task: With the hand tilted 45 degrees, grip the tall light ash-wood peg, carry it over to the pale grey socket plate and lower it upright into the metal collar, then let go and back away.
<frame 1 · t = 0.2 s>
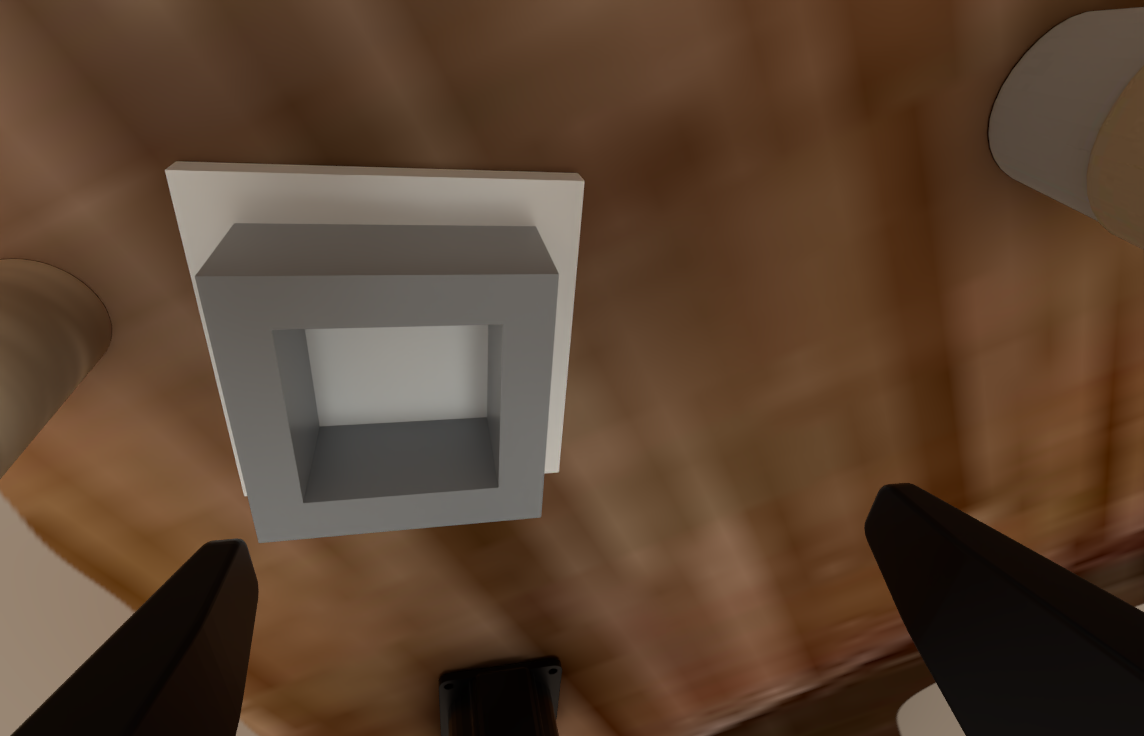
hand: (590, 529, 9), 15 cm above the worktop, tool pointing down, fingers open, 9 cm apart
peg: (37, 319, 20), on the worktop
coffee cup: (1053, 103, 24), on the worktop
socket: (401, 337, 23), on the worktop
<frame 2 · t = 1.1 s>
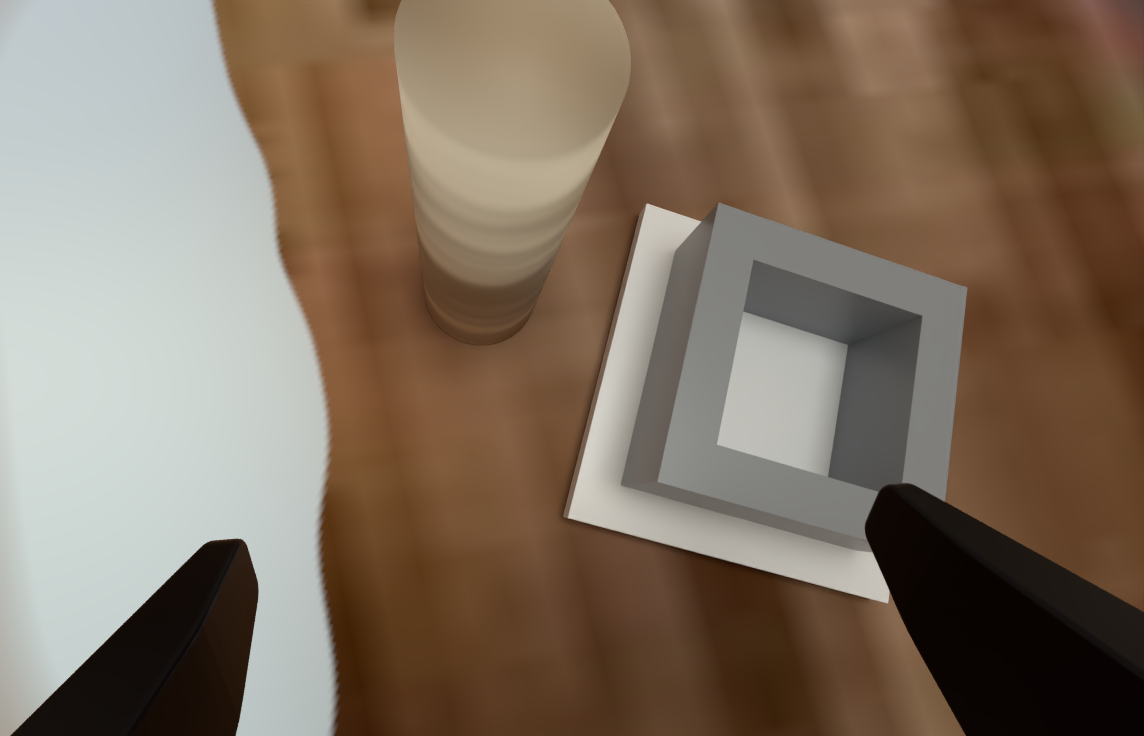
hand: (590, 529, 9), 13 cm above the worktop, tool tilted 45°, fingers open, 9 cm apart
peg: (480, 292, 23), on the worktop
socket: (751, 401, 24), on the worktop
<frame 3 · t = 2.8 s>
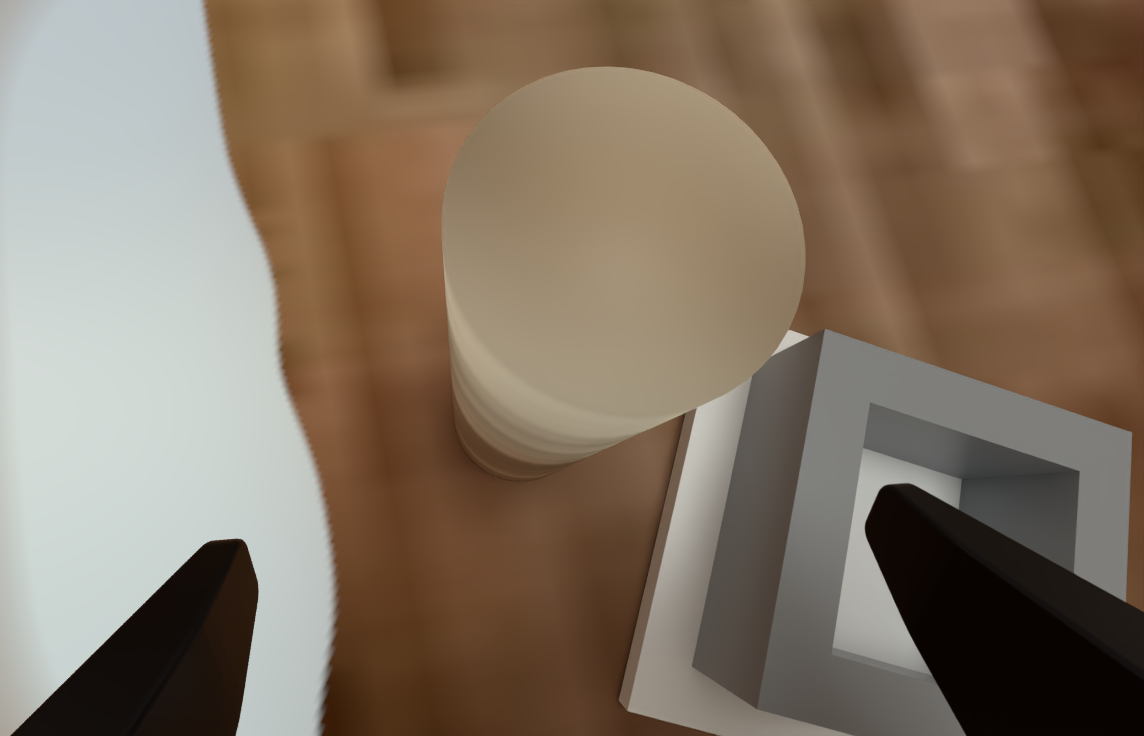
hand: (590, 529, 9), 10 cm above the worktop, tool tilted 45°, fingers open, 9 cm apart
peg: (520, 414, 19), on the worktop
socket: (843, 546, 20), on the worktop
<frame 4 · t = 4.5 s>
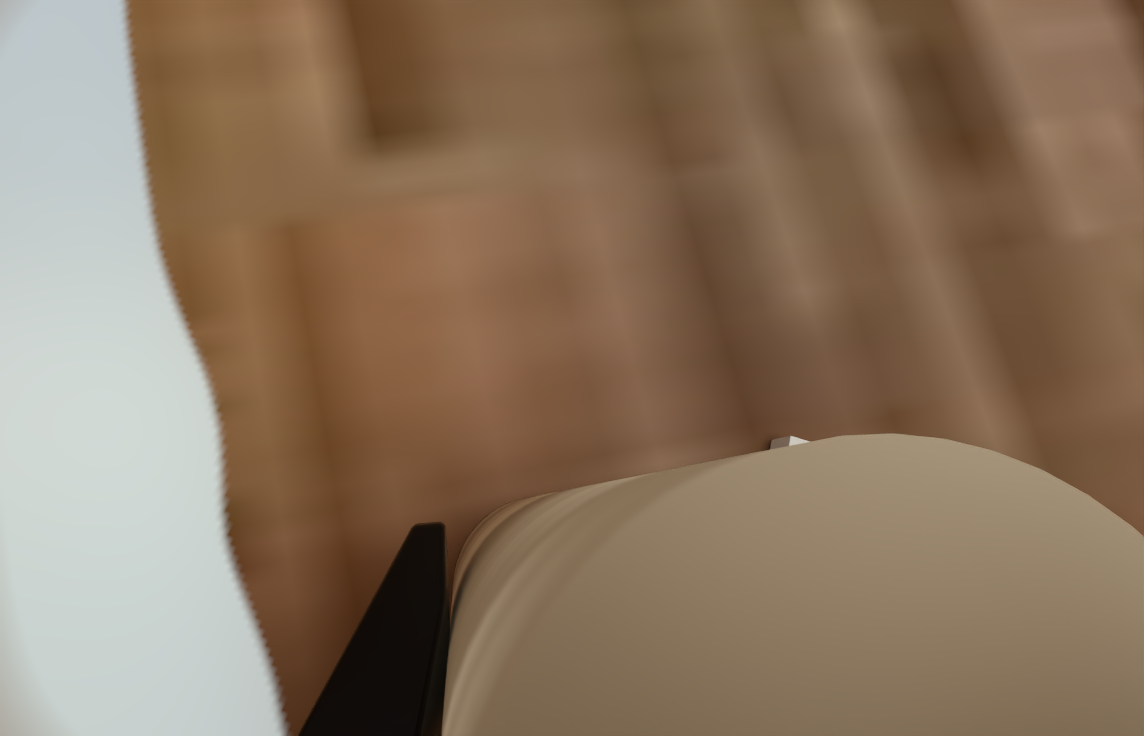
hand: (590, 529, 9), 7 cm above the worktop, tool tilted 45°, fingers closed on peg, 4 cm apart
peg: (539, 583, 15), on the worktop, touching gripper
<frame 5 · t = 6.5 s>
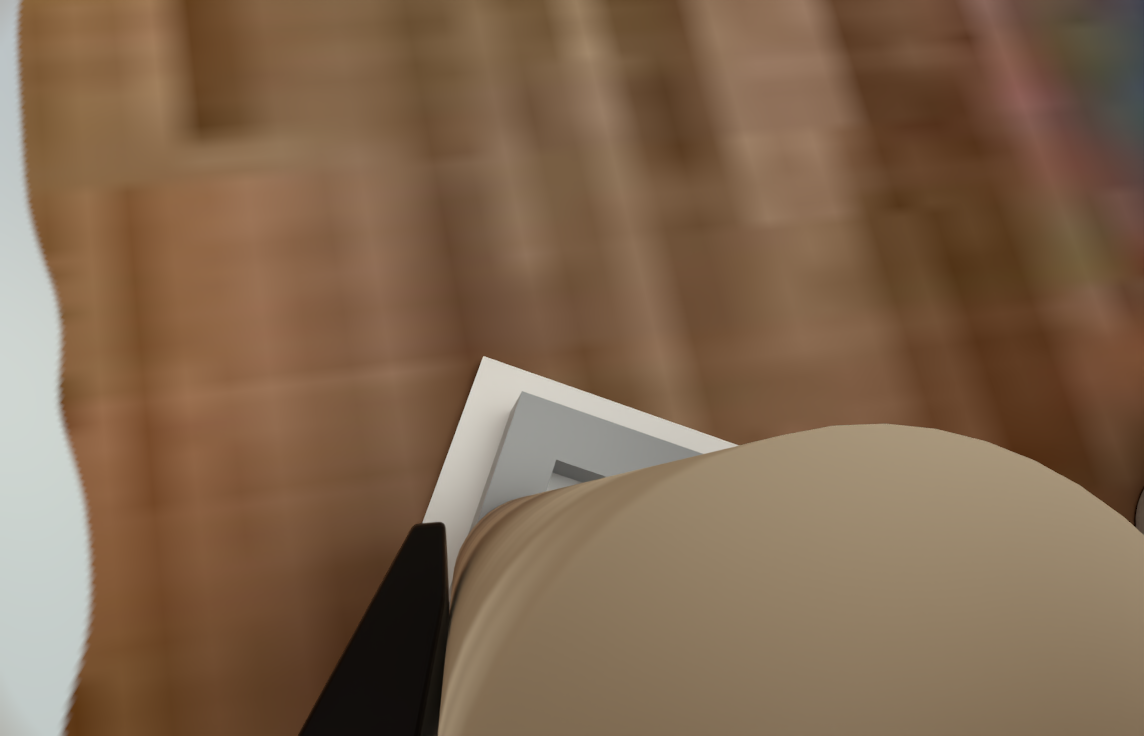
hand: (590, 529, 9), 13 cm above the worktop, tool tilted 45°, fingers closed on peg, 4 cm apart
peg: (538, 581, 15), point 7 cm above the worktop, touching gripper
socket: (590, 580, 22), on the worktop
when the fingers open (8 cm above the worktop, at t = 8.8 s): peg stays where it is, resting on socket.
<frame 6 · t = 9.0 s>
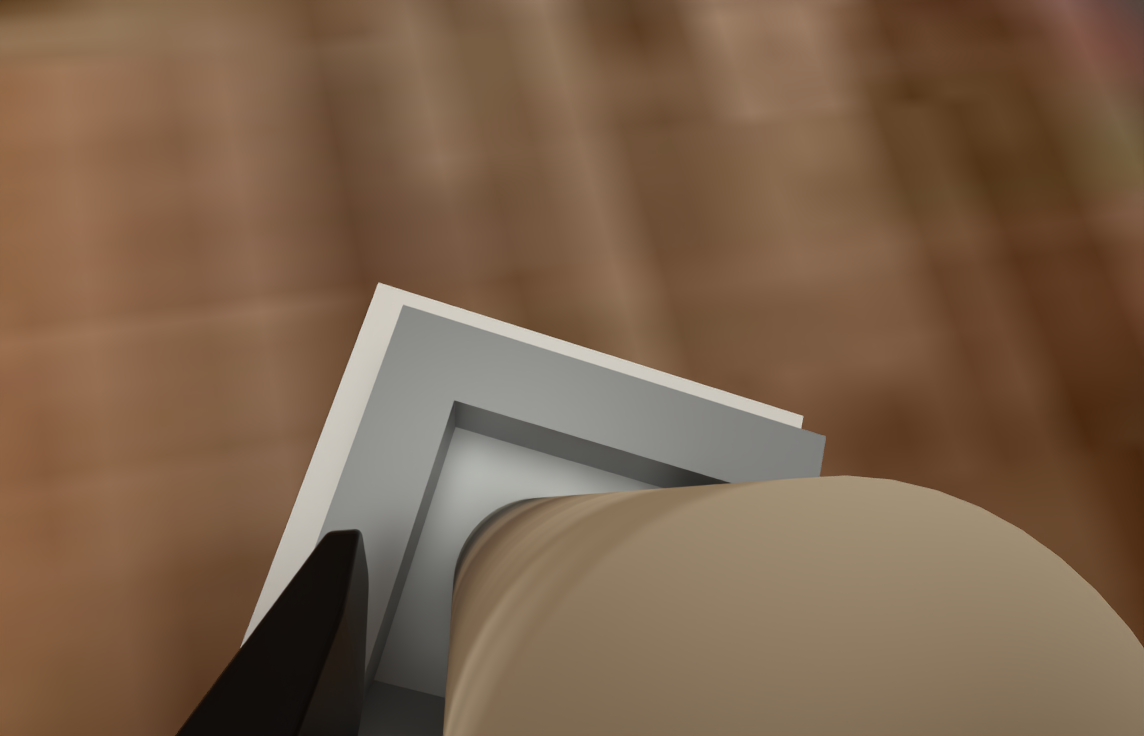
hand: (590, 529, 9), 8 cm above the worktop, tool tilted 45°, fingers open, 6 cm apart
peg: (536, 582, 15), point 1 cm above the worktop, touching socket
socket: (532, 575, 16), on the worktop
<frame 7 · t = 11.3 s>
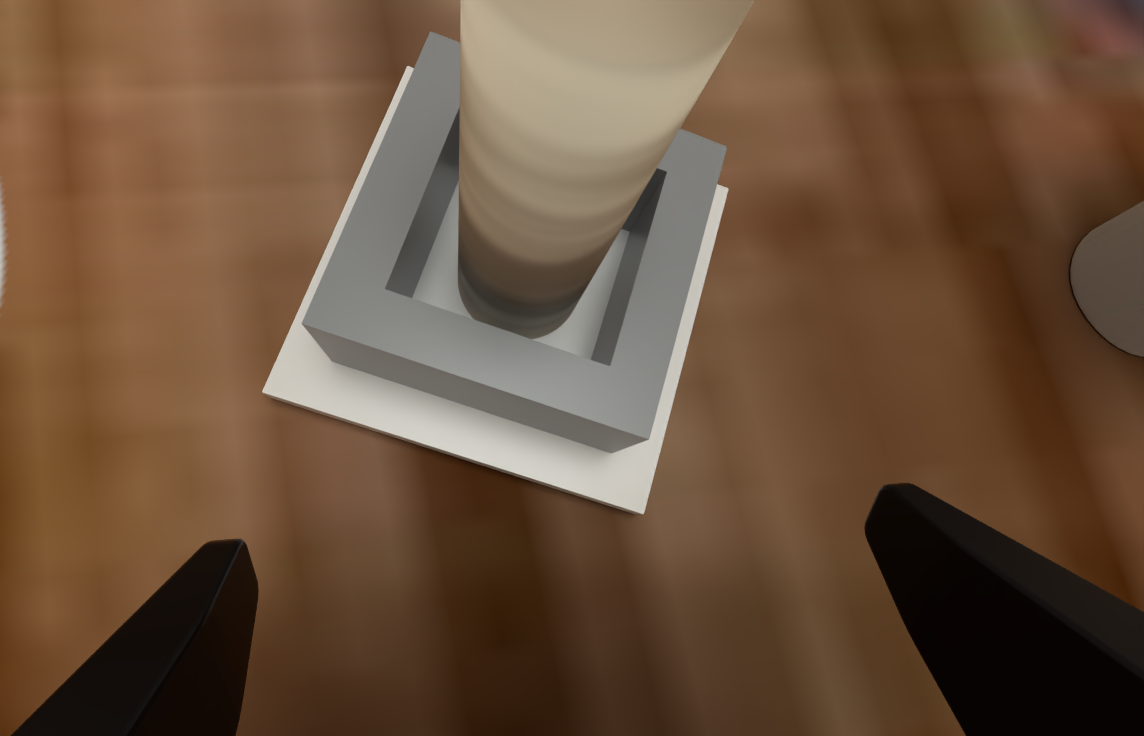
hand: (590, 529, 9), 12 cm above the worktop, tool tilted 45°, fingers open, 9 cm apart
peg: (519, 281, 21), point 1 cm above the worktop, touching socket
coffee cup: (1123, 291, 27), on the worktop
socket: (517, 289, 22), on the worktop
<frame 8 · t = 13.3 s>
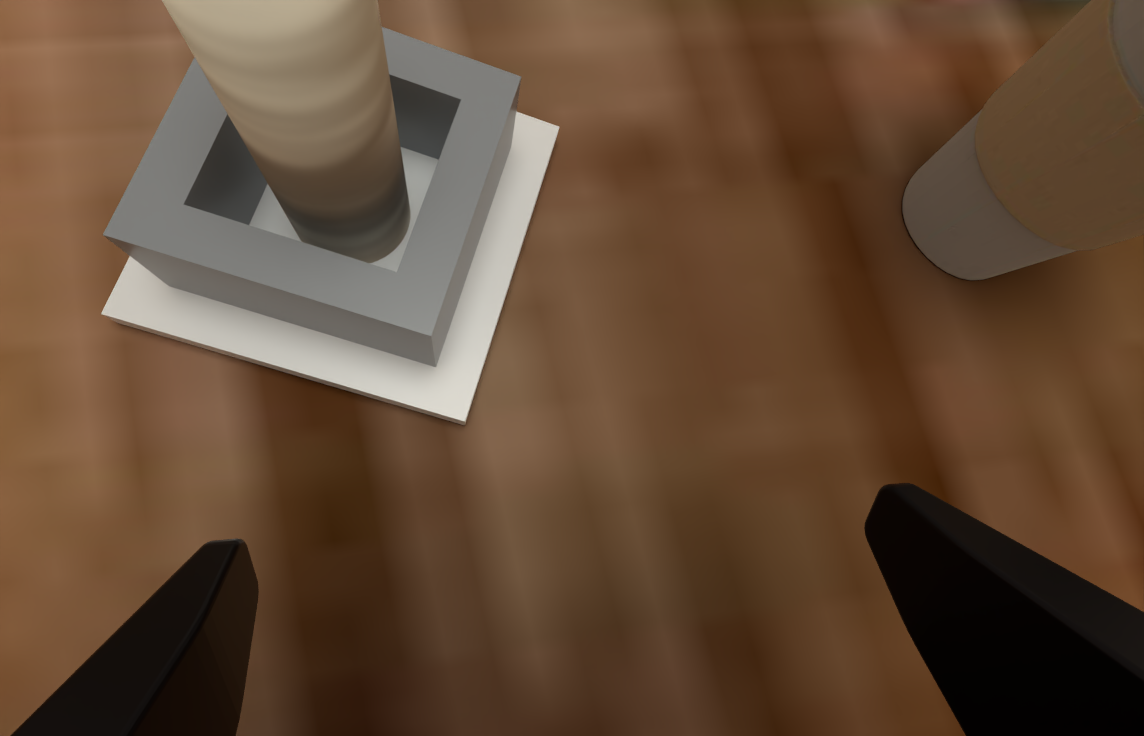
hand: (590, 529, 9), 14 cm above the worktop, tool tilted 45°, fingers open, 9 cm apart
peg: (352, 212, 22), point 1 cm above the worktop, touching socket
coffee cup: (956, 221, 28), on the worktop
socket: (356, 223, 23), on the worktop
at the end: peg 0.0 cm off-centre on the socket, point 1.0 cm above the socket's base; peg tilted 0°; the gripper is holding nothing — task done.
